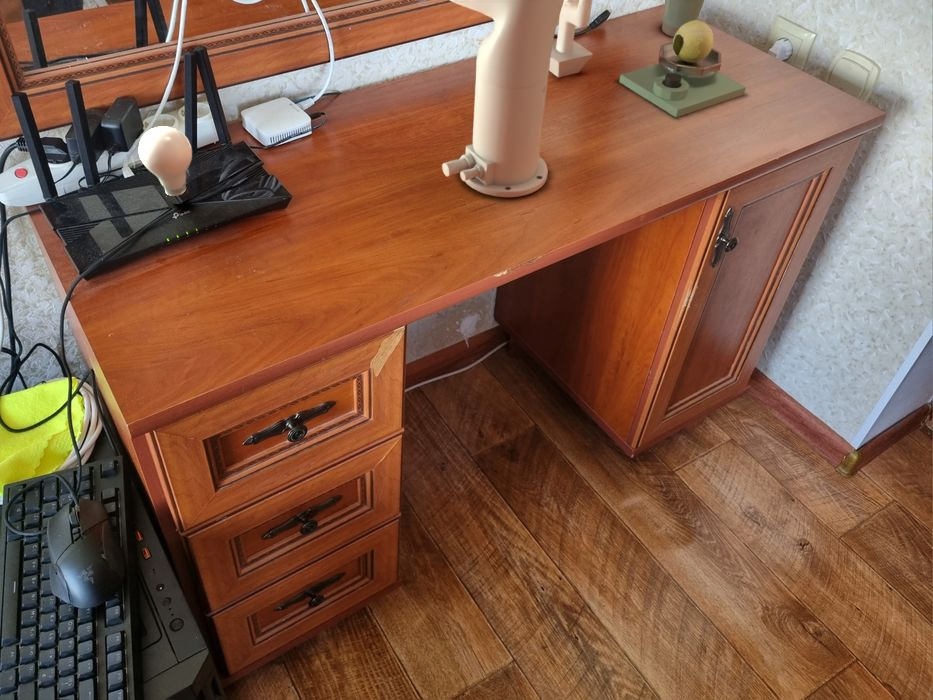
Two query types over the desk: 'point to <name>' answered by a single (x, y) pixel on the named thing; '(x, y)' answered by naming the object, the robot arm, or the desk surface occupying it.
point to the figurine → (570, 39)
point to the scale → (681, 89)
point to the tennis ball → (693, 41)
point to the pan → (691, 70)
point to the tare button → (672, 80)
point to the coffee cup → (679, 14)
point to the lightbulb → (167, 157)
